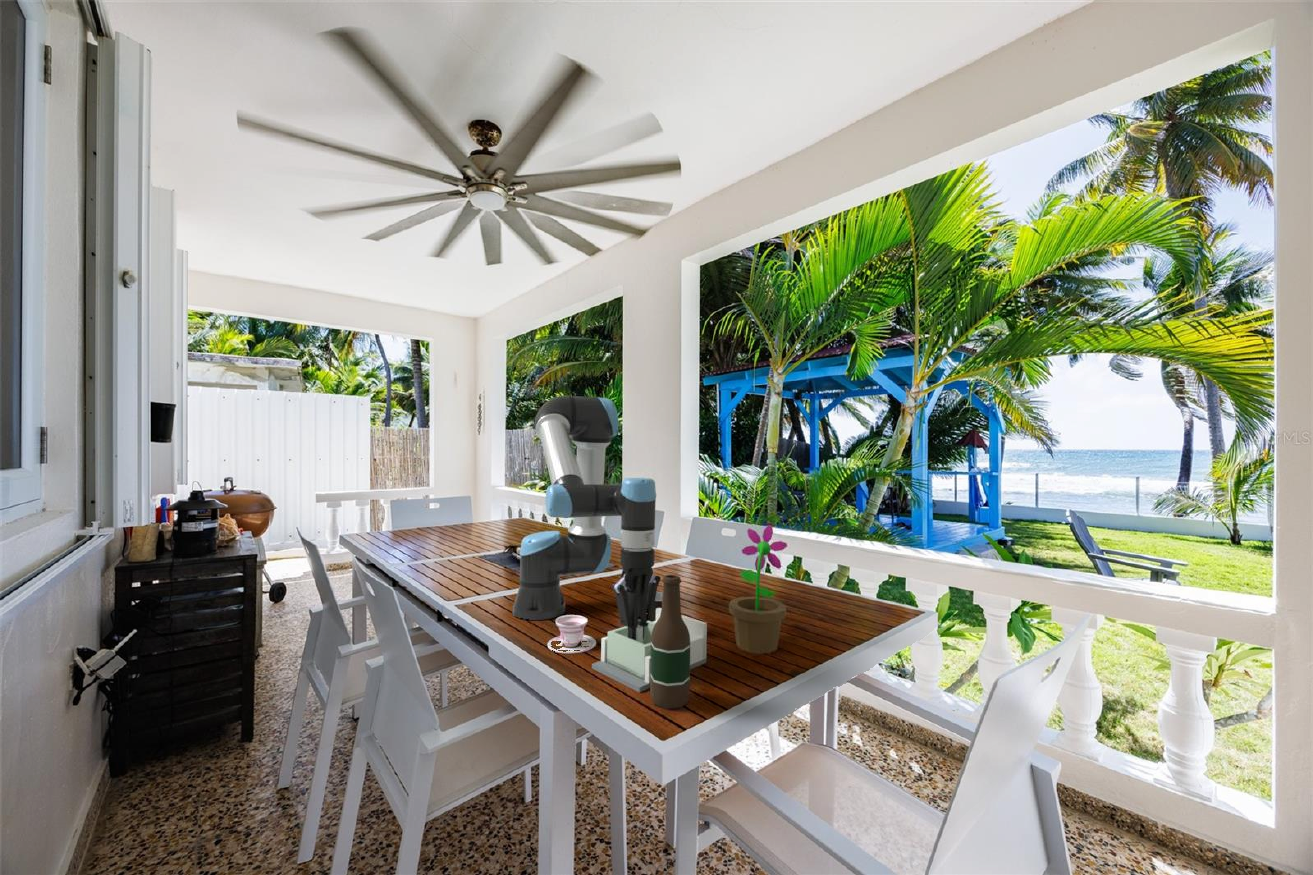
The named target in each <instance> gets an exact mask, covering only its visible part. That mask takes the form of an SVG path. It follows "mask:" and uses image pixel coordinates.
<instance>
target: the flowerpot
mask: <svg viewBox="0 0 1313 875" xmlns="http://www.w3.org/2000/svg"><path fill="white" fill-rule="evenodd" d="M746 531H747V536H748V538H749V539H750V540H751V542H752V543H754V544H756V545H757V546H755V545H748V546H745V547H744V548H742V549H741V553H742V554H743V555H745V556H751V555H752V556H753V555H756V554H757V553H759V554H758V556H757V557H756V558H755V562H754V566H755V570H756V571H754V570H752V569H744V570H742V571H741V572H740V573H739V575H740V577H741V578H742V579H743V581H745V582H747V583H749V584H751V583H755V596H740V597H736V598H731V599H730V602H729V603H728V613H729V614H730V615H731V616H732V617H733V626H734V634H735V642H736V643H735V644H736V646H737V647H738V649H740V650H742V651H744V650H745V652H747V653H751V654H758V655H760V654H763V655H764V654H765V653H766V654H772V653H773V652H772V651H774V650H778V647H777V646H779V639H780V631H781V625H782V620H785V619H786V616H787V605H786V604H785V603H782V601H779V600H775V599H772V598H771V597H774V596H776V593H775V592H773V591H772V590H769V589H768V588H766V587H760V583H761V571H762V570H763V568H764V567H765V563H766V557H767V561H768V562H769V563H770V564H771V565H772V567H774V568H776V569H778V570H780V569H781V568H782V563H781V560H780V559H779V557H778V556H777V555H776V554H774V553H772V552H771V551H774V552H778V551H783V550H784V549H785V548H787V547H788V544H787V543H788V542H784V541H781V540H779V541H773V542H772V543H770V544H769V542H770V541H771V540H772V538H773V534H774V531H773V525H770V524H768V525H767V526H766V527H765V528H764V530H763V533H762V540H763V541H761V536H760V535H759V534H758V532H757V531H755V530H754V529H752V528H748V529H747V530H746ZM765 556H766V557H765ZM760 596H761V597H760ZM771 652H772V653H771ZM774 652H775V651H774Z"/></svg>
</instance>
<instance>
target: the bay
mask: <svg viewBox="0 0 1313 875" xmlns="http://www.w3.org/2000/svg"><path fill="white" fill-rule="evenodd" d="M661 609H662V608H657V609H656V621H653V622H654V623H656V622H657V621H658V619H659V618H660V614H661ZM681 615H682V614H681ZM682 619H683V621H684V623H685V624H686V626H687V628H688V631H689V634H690V671H691V670H693V669H695V668H697V667H699V666H701V665H704V664H706V663H707V643H708V642H707V634H708V633H707V631H708V629H707V628H708V626H707V625H708V623H707V622H704V621H701V620H698V619H695V618H693V617H689V616H686V615H684V614H683V615H682ZM600 640H601V641H600V642H601V646H600V647H601V648H600V650H601V651H600V660H599V661H596V662H594V663H592V664H591V669H592V670H594V671H596V672H598V673H599V674H602V675H604V676H606V677H608V678H610V679H612V680H613V681H615V682H617V683H620V684H621V685H624V686H625V687H628V688H629V689H631V690H634V691H635V692H637V693H641V692H644V691H647V690H648V689H650V665H651V655H649V656H646V657H645V679H642V678H640V677H638V676H636V675H634V674H632V673H630V672H628V671H626V670H624V669H621V668H619V667H617V666H615V665H613V664H611V663H609V662H607V636H604V637H601V638H600Z"/></svg>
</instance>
